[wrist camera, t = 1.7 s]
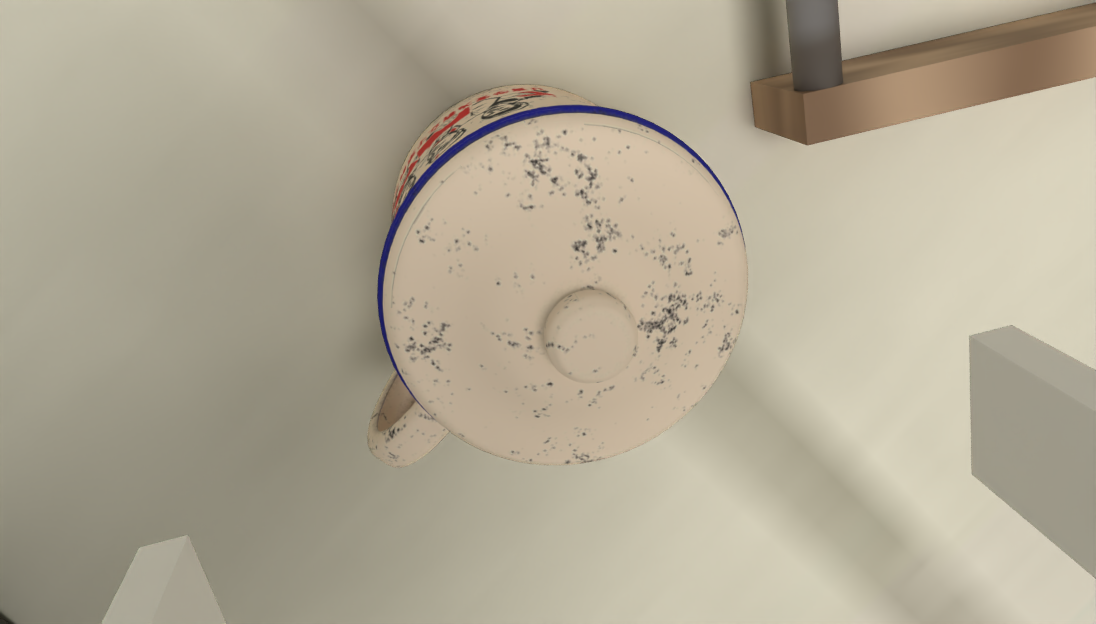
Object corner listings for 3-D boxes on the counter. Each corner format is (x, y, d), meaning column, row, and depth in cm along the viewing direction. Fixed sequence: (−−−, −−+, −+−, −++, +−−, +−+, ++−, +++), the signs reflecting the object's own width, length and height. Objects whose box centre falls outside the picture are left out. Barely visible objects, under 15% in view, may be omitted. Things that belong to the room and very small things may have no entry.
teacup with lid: (509, 12, 26) (584, 19, 15) (706, 199, 29) (884, 313, 18) (272, 298, 28) (190, 483, 17) (481, 445, 31) (522, 681, 20)
